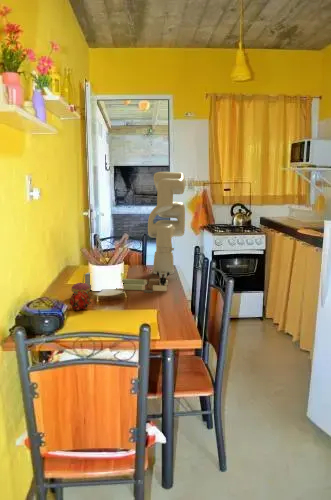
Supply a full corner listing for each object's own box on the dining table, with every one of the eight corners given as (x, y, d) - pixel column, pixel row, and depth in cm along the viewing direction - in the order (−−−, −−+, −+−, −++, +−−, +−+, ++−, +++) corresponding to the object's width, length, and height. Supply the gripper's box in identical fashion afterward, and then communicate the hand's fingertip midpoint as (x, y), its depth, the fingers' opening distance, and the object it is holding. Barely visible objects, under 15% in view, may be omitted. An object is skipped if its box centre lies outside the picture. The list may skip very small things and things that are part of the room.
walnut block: (150, 286, 220) (150, 278, 220) (159, 286, 220) (159, 279, 219) (148, 288, 215) (148, 280, 215) (158, 288, 215) (158, 281, 214)
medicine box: (102, 289, 211) (102, 272, 209) (100, 292, 206) (100, 274, 205) (87, 289, 212) (87, 272, 210) (84, 291, 207) (84, 274, 206)
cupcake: (83, 294, 201) (83, 269, 199) (93, 298, 195) (93, 273, 193) (67, 297, 195) (67, 272, 193) (78, 301, 189) (77, 275, 187)
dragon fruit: (87, 308, 185) (77, 320, 174) (72, 296, 185) (60, 308, 174) (97, 294, 182) (87, 306, 171) (82, 283, 182) (70, 294, 171)
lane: (120, 283, 224) (120, 278, 224) (167, 285, 223) (167, 280, 223) (116, 289, 212) (116, 284, 212) (166, 291, 211) (166, 286, 211)
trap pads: (147, 282, 228) (147, 281, 228) (155, 282, 228) (155, 282, 228) (143, 292, 207) (143, 291, 207) (151, 292, 207) (151, 292, 207)
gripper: (178, 249, 217) (177, 283, 220) (149, 248, 218) (149, 282, 221) (178, 251, 210) (177, 287, 213) (148, 250, 210) (147, 286, 213)
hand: (162, 284), depth 217 cm, fingers closed
